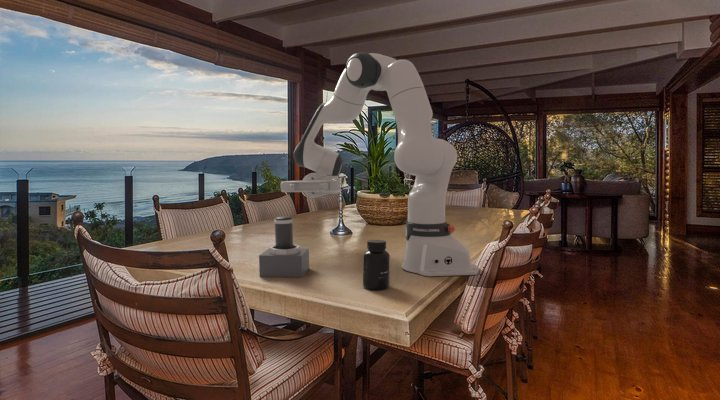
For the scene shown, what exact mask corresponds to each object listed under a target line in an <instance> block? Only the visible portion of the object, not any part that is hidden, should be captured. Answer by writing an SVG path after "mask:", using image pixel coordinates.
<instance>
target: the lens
mask: <svg viewBox="0 0 720 400" xmlns="http://www.w3.org/2000/svg"><path fill="white" fill-rule="evenodd" d="M273 221H274V222H273V223H274V235H275V236H274V237H275V238H274V239H275V240H274V241H275V242H274V243H275V245H276V249H292V248H293V244H294V232H293V231H294V229H293V228H294V227H293V226H294V225H293V223H294V219H293V217H292V216H288V215H287V216H284V215H283V216H276V217H274V219H273Z"/></svg>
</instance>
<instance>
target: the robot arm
mask: <svg viewBox="0 0 720 400" xmlns="http://www.w3.org/2000/svg"><path fill="white" fill-rule="evenodd" d="M371 90H373V91H376V92H378V91H379V92H383V91H385V92H386V93H387V97H388V99H389V104H390V106H391V109H392V113H393V116H394V120H395V123H396V128H397V146H396V147H395V150H394V155H393V160H394V162H395V163H394V164H395V165H396V167H397V168H398V170H400V171H401V172H403V173H405V174H407V175H410V176H415V180H414V182H413V183H414V184H413V186H412V189H411V190H410V191H409V193H408V196H407V220H406V223H405V239H406V245H405V251H404V252H405V253H404V258H403V261H402V264H401V268H402V269H403V270H405V271H407V272H410V273H414V274H418V275H421V276H423V277H446V276H451V277H452V276H475V275H478V274H479V271H480V270H479V267H478V265H477V264H476V263H474V262H472V258H471V257H472V256H471V253H470V250H469V249H468V247H467V246H466V245H465V244H463V243H462V241H460V240H458V239H457V238H456V237H455V236H453V235H452V233H454V232H455V231H456V227H455V226H454V225H453V224H450V223H448V222H446V203H447V194H448V192H447V191H448V187H449V182H450V178H451V175H452V171H453V169H454V167H455V165H456V163H457V162H458V152H457V150H456V147H455V146H454V145H453V144H451V143H450V142H449V141H447V140H445V139H442V138H437V137H436V138H434V136H433V132H432V119H433V116H434V114H433V109H432V106H431V104H430V100H429V98H428V94H427V92H426V88H425V85H424V82H423V81H422V77H421V76H420V74H419V71H418V70H417V67H415V64H414V63H413V62H411V61H410V60H408V59H398V58H397V57H390V56H387V55H383V54H381V53H374V52H371V53H369V52H365V51H363V52H362V51H361V52H357V53H354V54H352V55H351V56H350V57H349V58H348V59H347V62H346V65H345V68H344V69H343V71H342V73H341V75H340V77H339V79H338V81H337V83H336V85H335V88H334V92H333V95H332V96H331V98H330V99H329V100H328V101H326V102H323V103H321V104H320V105H319V107H318V108H317V109H316V111H315V113H314V114H313V116H312V118H311V120H310V122H309V124H308V126H307V128H306V129H305V132H304V133H303V136H302V137H301V139H300V141H299V143H298V144H297V145H296V147H295V149H294V151H293V154H292V155H293V156H292V157H293V160H294V162H295V164H296V165H297V166H298V167H301V168H305V169H308V170H311V171H313V172H311V173H308V174H307V175H305V176H304V177H303V178H302V180H284V181H283V180H282V181H281V182H280V192H282V193H303V194H304V195H306V196H307V197H308V198H312V199H316V198H319V197H324V196H330V195H337V194H339V193H340V192H341V178H340V174H341V172H342V170H343V166H344V162H343V161H344V160H343V157H342V154H341V153H338V152H337V151H334V150H331V149H329V148H326V147H325V146H322V145H319V144H317V143H316V142H315V139H316V137H317V136H318V134H319V131H320V129H321V127H322V126H323V125H324V124H327V123H330V124H331V123H333V124H334V123H335V124H336V123H337V124H344V123H345V124H346V123H350V122H352V121H354V120H356V119H357V118H358V117H359V116H360V114H361V112H362V110H363V108H364V107H365V106H364V105H365V104H366V103H365V102H366V101H367V98H368V97H367V96H368V94H369V92H370V91H371ZM475 264H476V265H477V266H476V265H475Z"/></svg>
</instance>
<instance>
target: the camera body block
mask: <svg viewBox="0 0 720 400" xmlns="http://www.w3.org/2000/svg"><path fill="white" fill-rule="evenodd" d="M258 262H259V263H258V266H259V269H258V271H259V273H258V274H259V277H266V278H268V277H269V278H271V277H272V278H303V277H304V275H305V274H306V272H308V270H309V269H310V248H301V245H298V244H294V243H293V248H292V249H276V244H274V245H270V247H269V248H268V249H267V250H265V251H262V253H261V254H259V255H258Z"/></svg>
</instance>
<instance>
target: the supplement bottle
mask: <svg viewBox="0 0 720 400" xmlns="http://www.w3.org/2000/svg"><path fill="white" fill-rule="evenodd" d="M366 249H367V250H366V251H364V253H363V254H362V255H363V257H362V285H363V288H365V289H366V290H369V291H383V290H387V289H388V288H389V287H390V266H391V265H390V264H391V263H390V262H391V260H390V259H391V256H390V253H389V252H388V251H387V250H386V249H387V241H386V240H384V239H369V240H367V243H366Z"/></svg>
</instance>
